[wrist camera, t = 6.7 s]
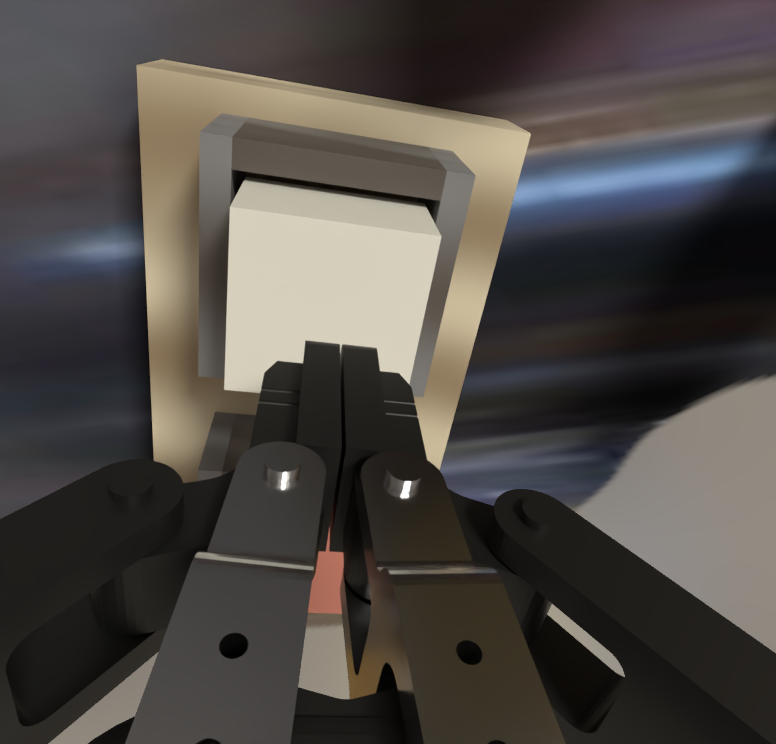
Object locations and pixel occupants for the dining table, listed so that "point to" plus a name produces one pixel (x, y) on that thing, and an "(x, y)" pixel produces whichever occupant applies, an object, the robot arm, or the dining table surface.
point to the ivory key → (323, 276)
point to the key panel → (309, 168)
